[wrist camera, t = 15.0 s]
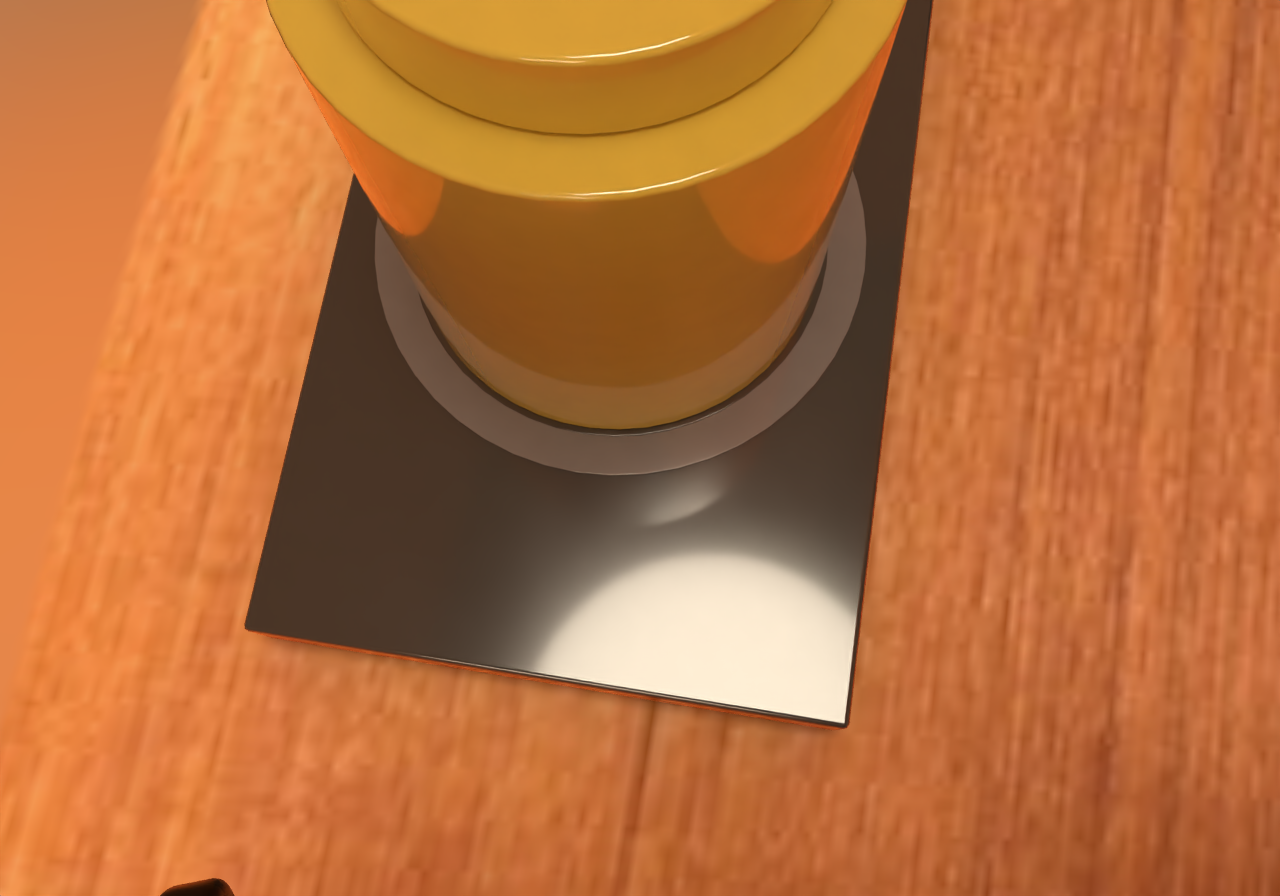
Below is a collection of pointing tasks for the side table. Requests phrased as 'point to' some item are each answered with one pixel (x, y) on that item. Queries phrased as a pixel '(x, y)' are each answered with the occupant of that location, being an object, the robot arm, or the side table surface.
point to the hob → (601, 486)
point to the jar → (602, 178)
